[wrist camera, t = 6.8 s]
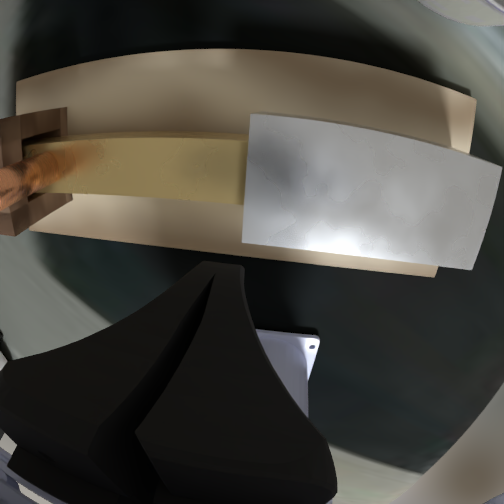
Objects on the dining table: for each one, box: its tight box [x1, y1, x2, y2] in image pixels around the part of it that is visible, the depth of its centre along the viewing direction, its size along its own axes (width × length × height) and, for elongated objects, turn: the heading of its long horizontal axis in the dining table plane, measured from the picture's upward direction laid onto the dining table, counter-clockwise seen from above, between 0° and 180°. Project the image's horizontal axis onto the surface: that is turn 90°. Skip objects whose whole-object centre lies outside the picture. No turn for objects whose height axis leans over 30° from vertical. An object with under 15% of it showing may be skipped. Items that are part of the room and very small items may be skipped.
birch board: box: [16, 49, 477, 277], centre depth 18 cm, size 13×33×1 cm, turn 86°
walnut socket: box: [0, 107, 73, 236], centre depth 16 cm, size 7×5×6 cm
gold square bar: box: [0, 131, 249, 211], centre depth 13 cm, size 3×19×8 cm, turn 86°
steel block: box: [242, 111, 502, 270], centre depth 15 cm, size 6×12×6 cm, turn 86°
